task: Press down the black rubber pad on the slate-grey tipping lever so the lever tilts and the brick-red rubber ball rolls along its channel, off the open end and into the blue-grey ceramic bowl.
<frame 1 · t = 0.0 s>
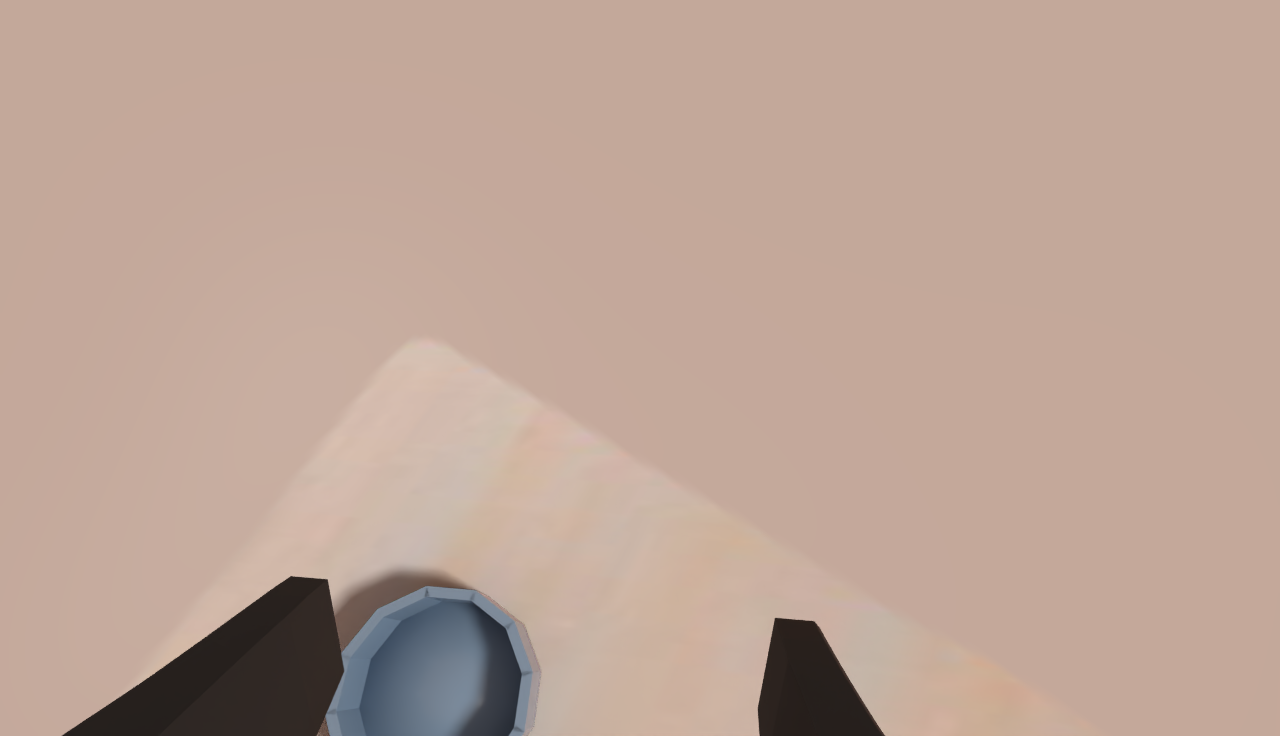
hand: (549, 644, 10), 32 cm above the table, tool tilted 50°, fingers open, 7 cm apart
bowl: (447, 690, 38), on the table
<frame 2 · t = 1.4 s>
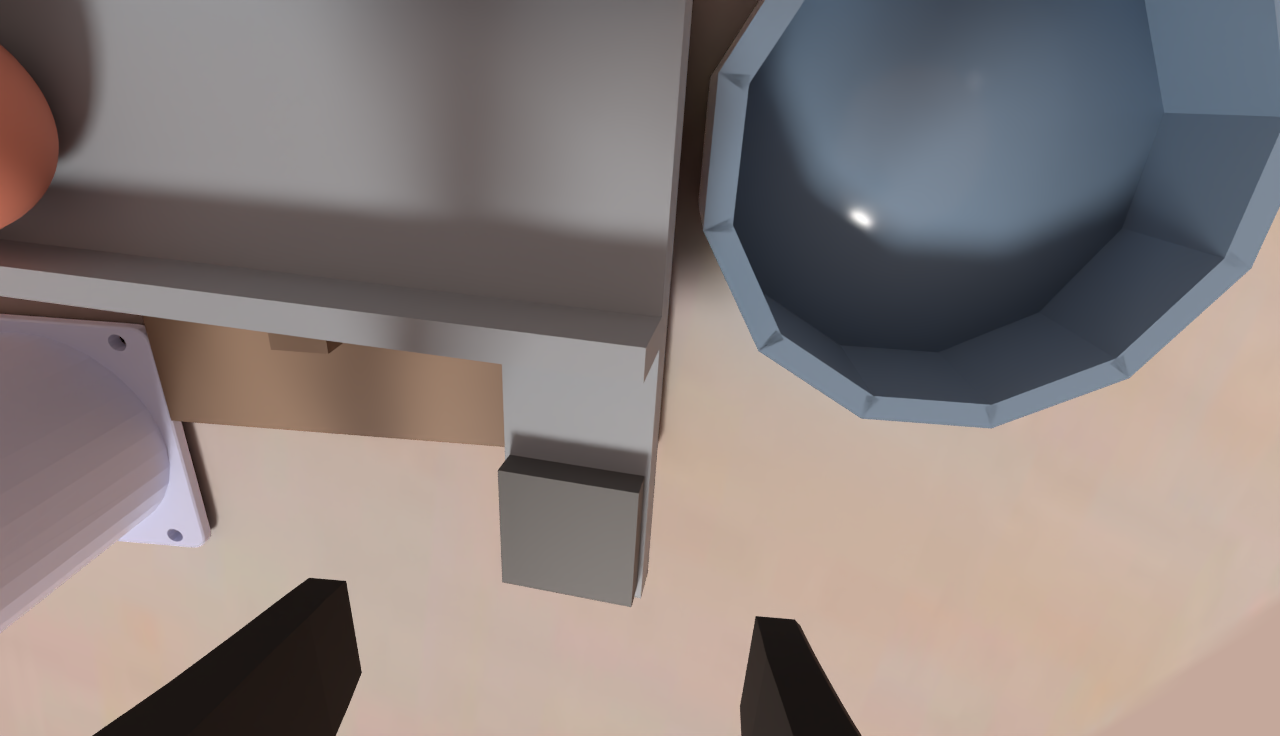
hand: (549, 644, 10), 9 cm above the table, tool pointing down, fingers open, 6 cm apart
catapult base: (387, 122, 16), on the table
lever: (270, 297, 12), point 6 cm above the table, hinge at -8.0°, touching ball
bowl: (927, 157, 16), on the table
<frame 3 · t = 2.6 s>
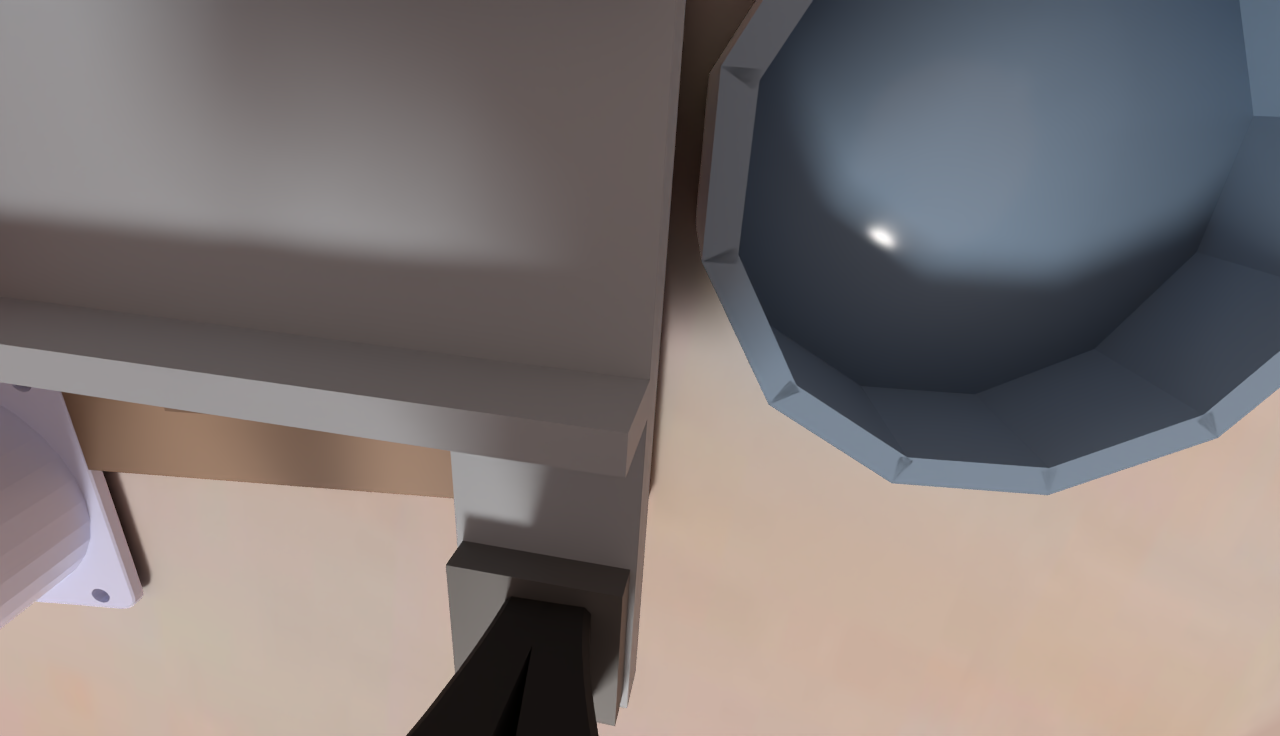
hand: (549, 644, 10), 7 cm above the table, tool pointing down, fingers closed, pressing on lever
catapult base: (327, 127, 13), on the table
lever: (154, 350, 9), point 6 cm above the table, hinge at -7.5°, touching ball, gripper
bowl: (967, 168, 13), on the table
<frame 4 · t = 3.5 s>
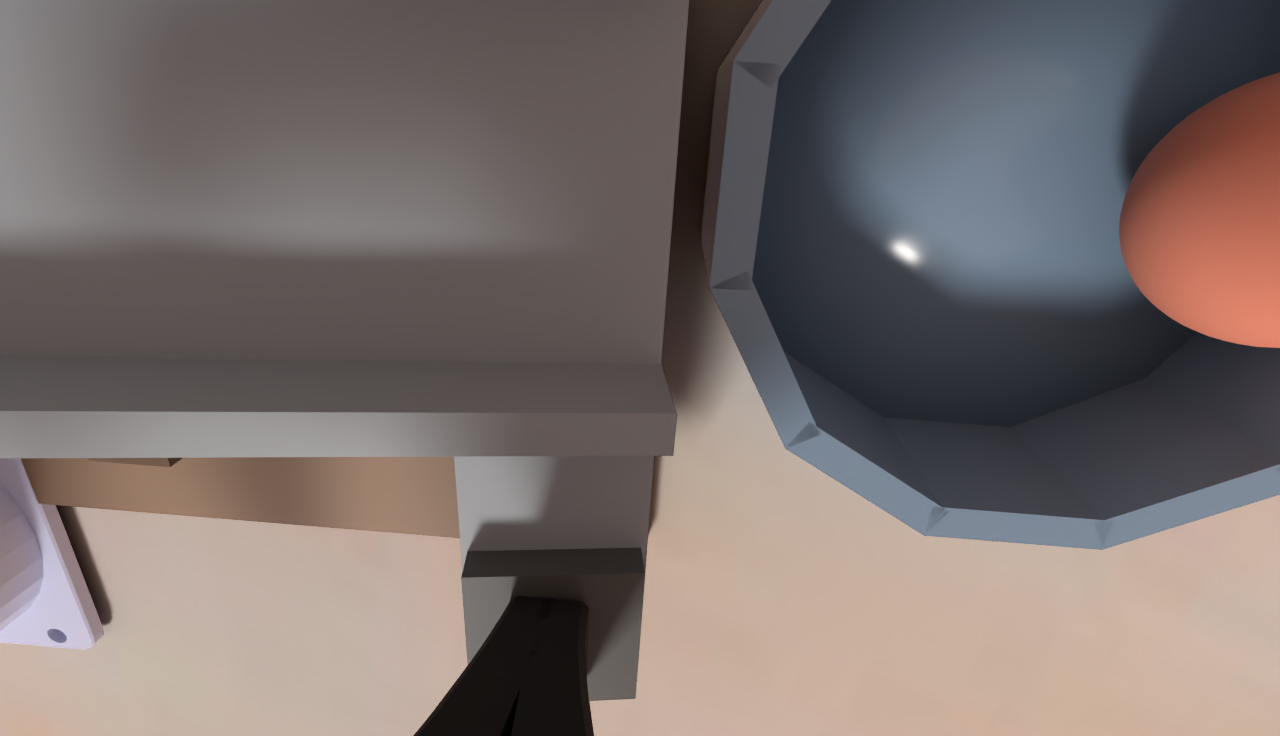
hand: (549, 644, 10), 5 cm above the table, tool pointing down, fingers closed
catapult base: (290, 131, 12), on the table
lever: (82, 396, 8), point 6 cm above the table, hinge at 8.8°, touching gripper
bowl: (1006, 178, 12), on the table
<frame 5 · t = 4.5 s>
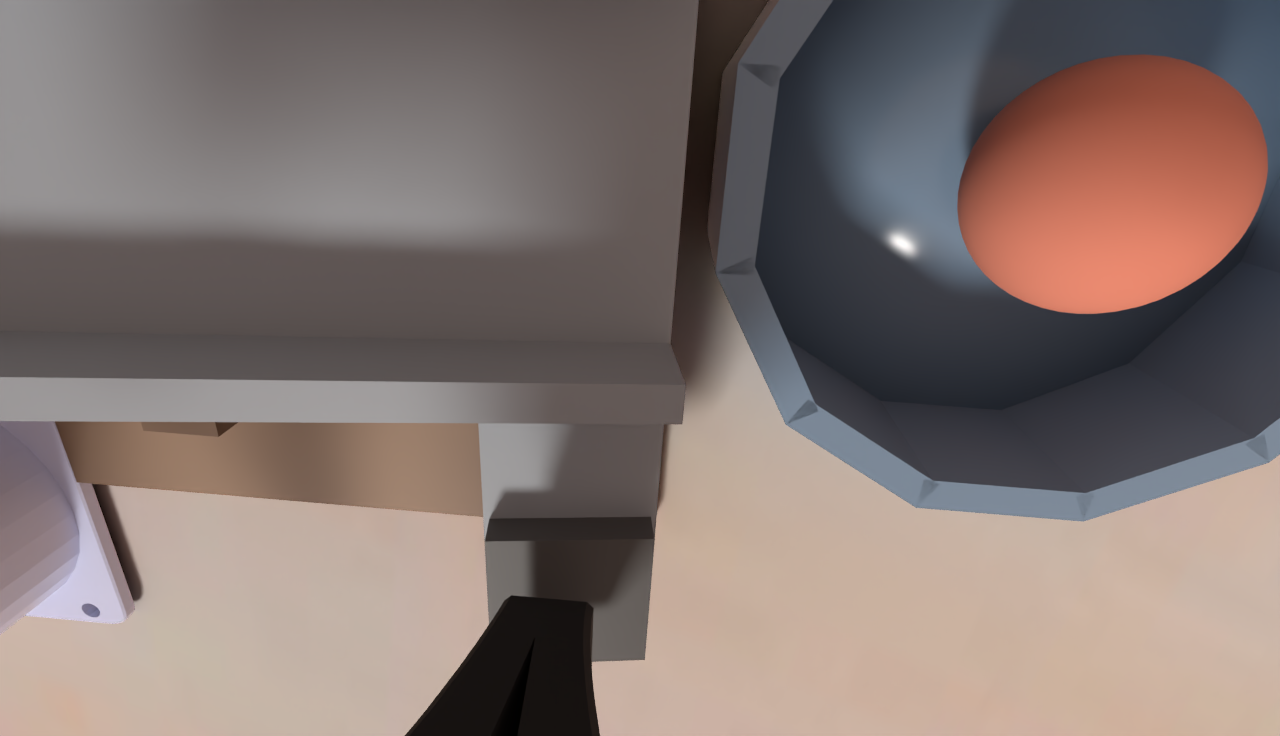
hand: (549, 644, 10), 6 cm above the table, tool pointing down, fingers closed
catapult base: (320, 128, 13), on the table
lever: (143, 369, 9), point 6 cm above the table, hinge at 8.8°
bowl: (996, 172, 12), on the table
ball: (1094, 191, 10), point 2 cm above the table, tilted 113°, touching bowl
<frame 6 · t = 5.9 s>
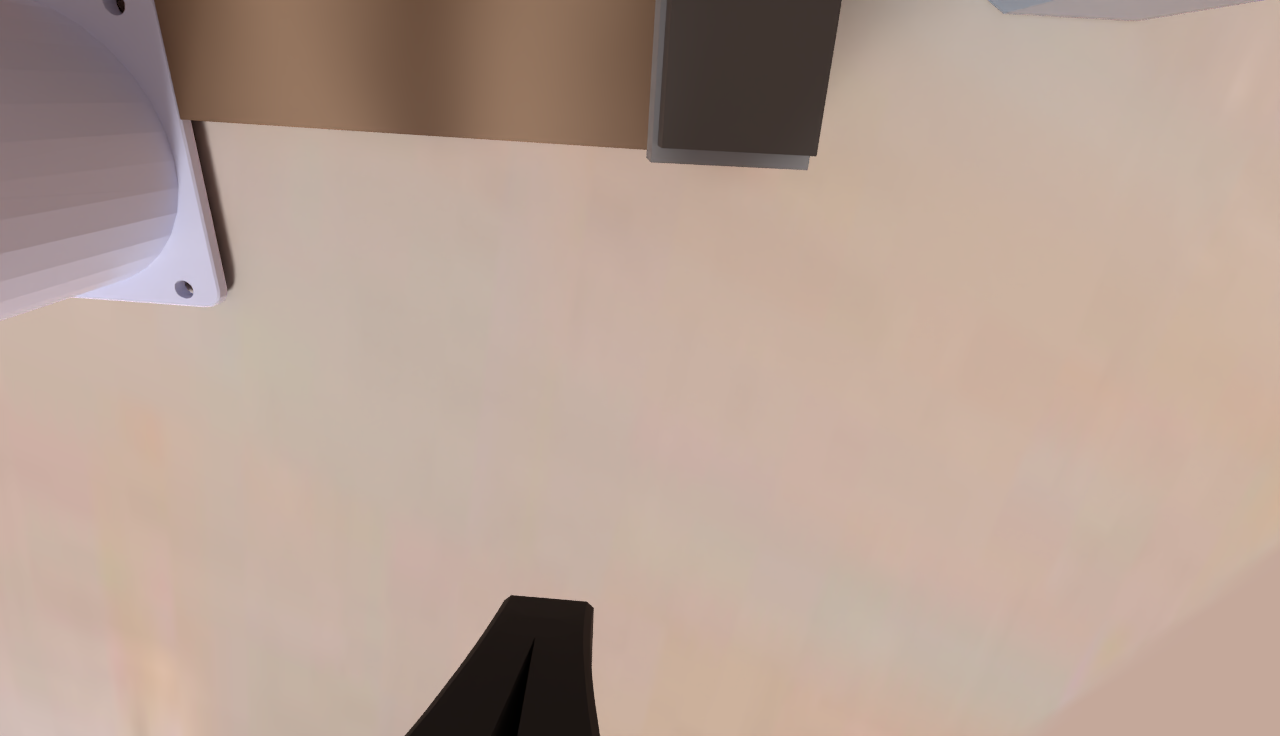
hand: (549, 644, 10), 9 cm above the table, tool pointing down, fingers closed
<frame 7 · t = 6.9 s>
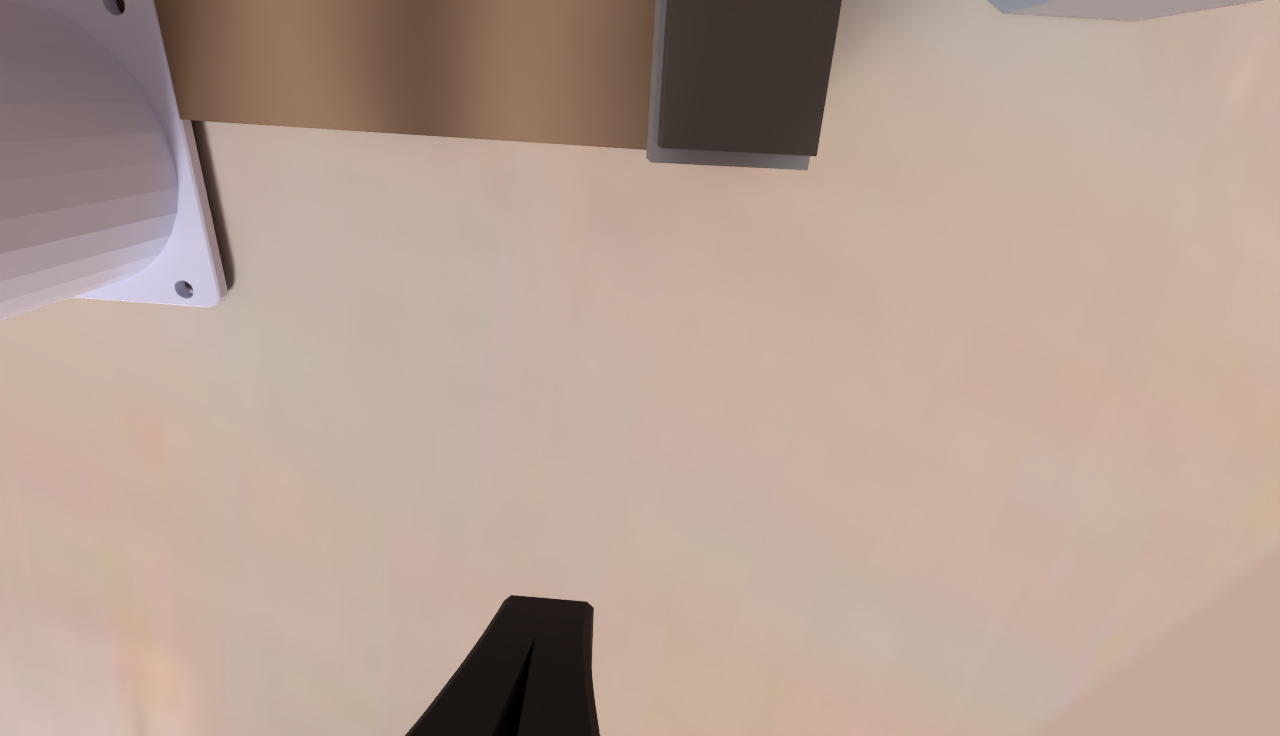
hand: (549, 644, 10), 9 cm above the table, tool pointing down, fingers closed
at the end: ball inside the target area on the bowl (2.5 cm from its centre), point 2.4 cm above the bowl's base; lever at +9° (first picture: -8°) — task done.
